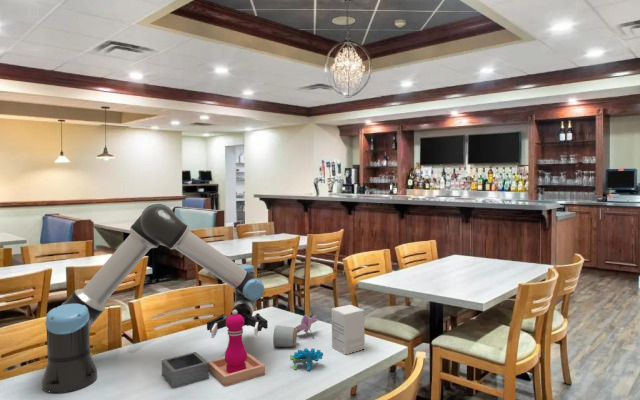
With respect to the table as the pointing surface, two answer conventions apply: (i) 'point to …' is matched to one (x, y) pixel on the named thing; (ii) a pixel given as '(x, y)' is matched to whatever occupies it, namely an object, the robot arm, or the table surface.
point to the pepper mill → (235, 344)
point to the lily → (306, 324)
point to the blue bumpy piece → (306, 357)
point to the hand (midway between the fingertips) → (234, 333)
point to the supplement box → (348, 329)
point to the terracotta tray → (251, 371)
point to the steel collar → (185, 369)
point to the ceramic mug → (284, 336)
